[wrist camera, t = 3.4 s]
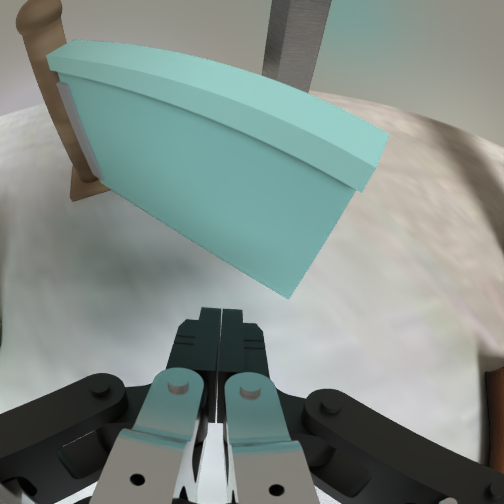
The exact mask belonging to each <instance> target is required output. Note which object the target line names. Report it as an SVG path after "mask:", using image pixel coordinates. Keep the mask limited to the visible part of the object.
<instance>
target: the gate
mask: <svg viewBox="0 0 504 504" xmlns="http://www.w3.org/2000/svg"><path fill="white" fill-rule="evenodd" d="M46 58H47V61H48V64H49V67H50V70H51V71H56V72H57V73H58V76H59V79H60V81H59V82H57V83H56V84H57V87H58V90H59V93H60V96H61V99H62V101H63V104H64V107H65V109H66V112H67V115H68V117H69V120H70V122H71V125H72V127H73V130H74V132H75V135H76V137H77V139H78V142H79V144H80V147H81V149H82V151H83V153H84V156H85V158H86V160H87V162H88V165H89V167H90V169H91V171H92V173H93V175H94V176H96V177H98V178H99V180H100V182H101V183H102V184H104V185H105V186H107V187H108V188H110V189H111V190H113V191H114V192H116V193H117V194H119V195H120V196H122V197H124V198H125V199H127V200H128V201H130V202H131V203H133V204H134V205H136V206H138V207H139V208H141V209H142V210H144V211H145V212H147V213H149V214H150V215H152V216H153V217H155V218H156V219H158V220H160V221H161V222H163V223H164V224H166V225H167V226H169V227H171V228H172V229H174V230H175V231H177V232H179V233H180V234H182V235H183V236H185V237H187V238H188V239H190V240H191V241H193V242H195V243H196V244H198V245H199V246H201V247H203V248H204V249H206V250H207V251H209V252H211V253H212V254H214V255H216V256H217V257H219V258H220V259H222V260H224V261H225V262H227V263H229V264H230V265H232V266H234V267H235V268H237V269H238V270H240V271H242V272H243V273H245V274H247V275H248V276H250V277H252V278H253V279H255V280H257V281H258V282H260V283H262V284H263V285H265V286H267V287H268V288H270V289H272V290H273V291H275V292H277V293H278V294H280V295H282V296H283V297H285V298H287V299H289V298H290V296H291V295H292V293H293V292H294V290H295V289H296V287H297V286H298V284H299V282H300V281H301V279H302V278H303V276H304V275H305V273H306V272H307V270H308V268H309V267H310V265H311V264H312V262H313V261H314V259H315V257H316V256H317V254H318V253H319V251H320V249H321V248H322V246H323V244H324V243H325V241H326V240H327V238H328V236H329V235H330V233H331V231H332V230H333V228H334V226H335V225H336V223H337V221H338V220H339V218H340V216H341V215H342V213H343V211H344V210H345V208H346V206H347V205H348V203H349V201H350V199H351V198H352V196H353V194H354V193H355V191H356V190H357V191H359V192H361V193H362V191H363V189H364V188H365V186H366V184H367V183H368V181H369V179H370V177H371V176H372V174H373V172H374V171H375V169H376V167H377V165H378V162H379V160H380V157H381V155H382V153H383V150H384V148H385V145H386V143H387V140H388V138H389V135H390V134H388V133H386V132H385V131H383V130H381V129H379V128H378V127H376V126H374V125H372V124H370V123H369V122H367V121H365V120H363V119H361V118H359V117H357V116H355V115H353V114H351V113H349V112H347V111H345V110H343V109H341V108H339V107H337V106H335V105H333V104H331V103H328V102H326V101H324V100H322V99H320V98H317V97H315V96H313V95H310V94H308V93H306V92H303V91H301V90H298V89H296V88H294V87H291V86H288V85H286V84H283V83H281V82H278V81H275V80H273V79H270V78H267V77H264V76H261V75H258V74H255V73H252V72H249V71H246V70H243V69H240V68H237V67H233V66H230V65H226V64H223V63H219V62H216V61H212V60H208V59H204V58H200V57H196V56H192V55H187V54H183V53H178V52H173V51H168V50H163V49H157V48H151V47H145V46H138V45H131V44H122V43H114V42H104V41H88V40H72V41H70V42H68V43H66V44H65V45H63V46H61V47H59V48H58V49H56V50H54V51H53V52H51V53H50V54H48V55H46Z"/></svg>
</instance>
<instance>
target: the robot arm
mask: <svg viewBox="0 0 504 504" xmlns="http://www.w3.org/2000/svg"><path fill="white" fill-rule="evenodd" d="M220 329H221V338H220ZM217 383H218V397H217ZM216 399H217V423H223V454H224V466H225V477H226V488H227V504H320V502H319V499H318V496H317V493H316V490H315V487H314V485H315V486H316V487H318V488H319V489H321V490H322V491H323V492H325V493H326V494H328V495H329V496H331V497H332V498H334V499H335V500H337V501H338V502H340V503H341V504H504V474H503V473H501V472H498V471H496V470H494V469H491V468H489V467H486V466H484V465H482V464H479V463H477V462H475V461H472V460H470V459H468V458H466V457H464V456H461V455H459V454H457V453H455V452H453V451H451V450H449V449H446V448H444V447H442V446H440V445H438V444H436V443H434V442H432V441H430V440H428V439H426V438H424V437H422V436H420V435H418V434H416V433H414V432H413V431H411V430H409V429H407V428H405V427H403V426H401V425H399V424H398V423H396V422H394V421H392V420H390V419H388V418H387V417H385V416H383V415H381V414H379V413H378V412H376V411H374V410H372V409H371V408H369V407H367V406H365V405H364V404H362V403H360V402H359V401H357V400H355V399H353V398H352V397H350V396H348V395H347V394H345V393H343V392H341V391H338V390H334V389H320V390H316V391H314V392H312V393H311V394H310V395H309V396H308V397H307V398H306V399H305V398H300V397H296V396H291V395H288V394H285V393H283V392H281V391H280V390H278V389H277V388H276V387H275V385H274V383H273V382H272V381H271V380H270V376H269V370H268V363H267V356H266V350H265V343H264V336H263V331H262V330H261V329H260V328H259V326H258V325H257V324H255V323H243V313H242V310H237V309H223V313H222V325H221V309H219V308H205V307H202V308H201V313H200V317H199V320H190V319H186V320H185V321H184V322H183V323H182V324H181V325H180V326H179V327H178V330H177V334H176V337H175V340H174V344H173V346H172V350H171V353H170V356H169V360H168V363H167V366H166V370H164V371H162V372H160V373H159V374H158V375H157V376H156V377H155V378H154V380H153V383H151V384H149V385H145V386H136V387H125V386H124V384H123V382H122V381H121V380H120V379H119V378H118V377H116V376H114V375H111V374H107V373H98V374H93V375H90V376H88V377H86V378H83V379H81V380H79V381H77V382H74V383H72V384H70V385H68V386H66V387H63V388H61V389H59V390H56V391H54V392H52V393H50V394H47V395H45V396H43V397H40V398H38V399H36V400H33V401H31V402H29V403H26V404H24V405H21V406H19V407H17V408H14V409H12V410H9V411H7V412H4V413H2V414H0V504H54V503H56V502H58V501H60V500H62V499H64V498H66V497H68V496H70V495H72V494H74V493H76V492H78V491H80V490H82V489H84V488H86V487H88V486H89V485H91V484H93V483H95V482H97V481H98V483H97V485H96V488H95V490H94V493H93V495H92V496H89V497H87V498H84V499H82V500H80V501H78V502H76V503H74V504H197V489H198V482H199V477H200V471H201V465H202V460H203V454H204V449H205V443H206V436H207V431H208V422H209V423H215V415H216ZM92 431H93V432H92ZM90 432H91V433H90ZM88 433H89V434H88ZM86 434H87V435H86ZM84 435H85V436H84ZM82 436H83V437H82ZM73 441H74V442H73ZM71 442H72V443H71ZM69 443H70V444H69ZM67 444H68V445H67Z"/></svg>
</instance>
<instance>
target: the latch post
mask: <svg viewBox="0 0 504 504" xmlns="http://www.w3.org/2000/svg"><path fill="white" fill-rule="evenodd" d="M331 1H332V0H272V5H271V12H270V19H269V26H268V33H267V40H266V47H265V55H264V62H263V70H262V76H264V77H267V78H270V79H273V80H275V81H278V82H281V83H283V84H286V85H288V86H291V87H294V88H296V89H298V90H301V91H303V92H306V93H308V92H309V88H310V84H311V80H312V76H313V72H314V69H315V64H316V60H317V57H318V53H319V49H320V45H321V41H322V37H323V33H324V29H325V25H326V21H327V17H328V13H329V9H330V5H331Z"/></svg>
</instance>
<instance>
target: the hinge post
mask: <svg viewBox="0 0 504 504" xmlns="http://www.w3.org/2000/svg"><path fill="white" fill-rule="evenodd" d="M61 14H62V4H61V1H60V0H28V1H27V2H26V3H25V4H24V5H23V6H22V7H21V9H20V11H19V13H18V15H17V18H16V28H17V30H18V32H19V33H20V34H21V35H22V36H23V40H24V44H25V47H26V50H27V53H28V57H29V60H30V63H31V65H32V69H33V71H34V74H35V77H36V80H37V83H38V85H39V88H40V90H41V93H42V96H43V99H44V101H45V104H46V106H47V108H48V111H49V113H50V116H51V118H52V120H53V123H54V125H55V127H56V130H57V132H58V134H59V136H60V138H61V141H62V143H63V145H64V147H65V149H66V151H67V153H68V155H69V157H70V159H71V161H72V163H73V168H72V177H71V188H70V198H71V200H72V201H76V200H79V199H82V198H86V197H89V196H92V195H95V194H98V193H102V192H105V191H108V190H111V189H110V188H108V187H107V186H105V185H104V184H102V183H101V182H100V180H99V178H98V177H96V176H94V175H93V173H92V171H91V169H90V167H89V165H88V162H87V160H86V158H85V156H84V153H83V151H82V149H81V147H80V144H79V142H78V139H77V137H76V135H75V132H74V130H73V127H72V125H71V122H70V120H69V117H68V115H67V112H66V109H65V107H64V104H63V101H62V99H61V96H60V93H59V90H58V87H57V84H56V83H57V82H59V81H60V79H59V76H58V73H57V72H56V71H51V70H50V67H49V64H48V61H47V58H46V55H48V54H50V53H51V52H53V51H54V50H56V49H58V48H59V47H61V46H63V45H65V44H66V39H65V34H64V30H63V26H62V21H61Z"/></svg>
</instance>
